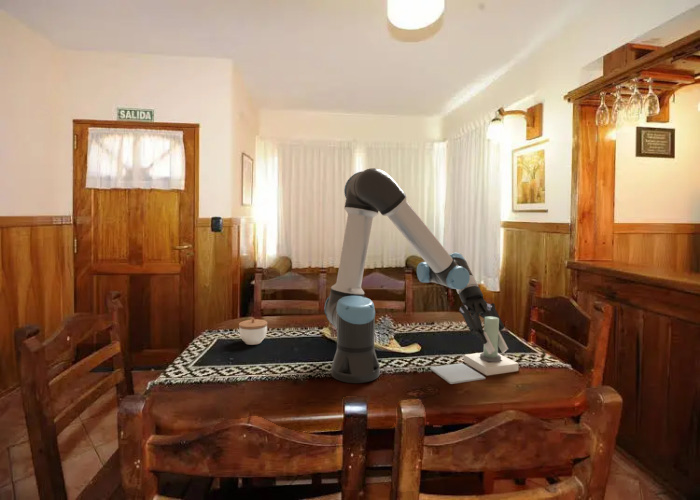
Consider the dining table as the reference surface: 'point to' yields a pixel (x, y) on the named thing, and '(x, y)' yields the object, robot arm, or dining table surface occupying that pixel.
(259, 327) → the lidded jar
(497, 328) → the candle in holder
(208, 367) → the dining table surface
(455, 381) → the mat
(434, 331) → the dining table surface
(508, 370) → the socket block
